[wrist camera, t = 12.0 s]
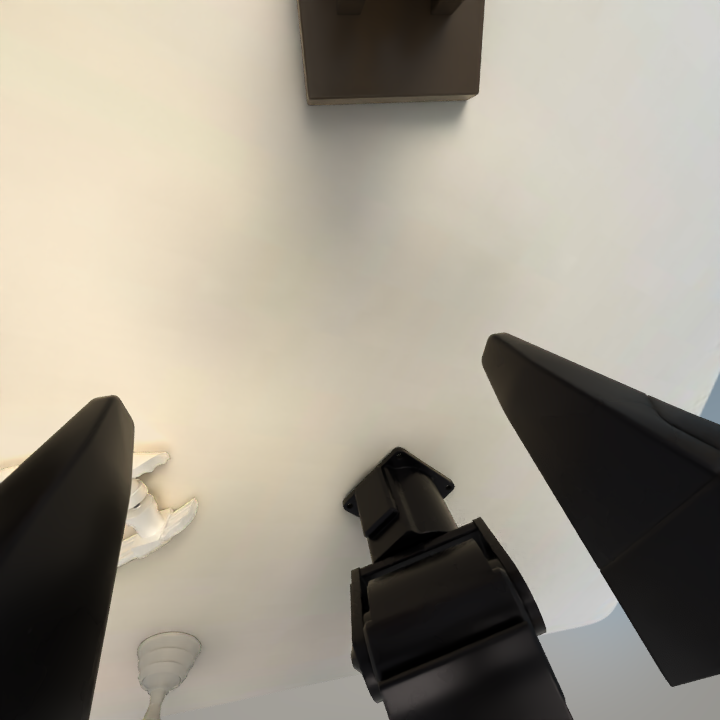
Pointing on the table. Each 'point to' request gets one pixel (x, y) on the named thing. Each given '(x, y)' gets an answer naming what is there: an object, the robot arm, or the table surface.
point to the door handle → (145, 511)
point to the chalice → (164, 666)
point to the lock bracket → (390, 50)
